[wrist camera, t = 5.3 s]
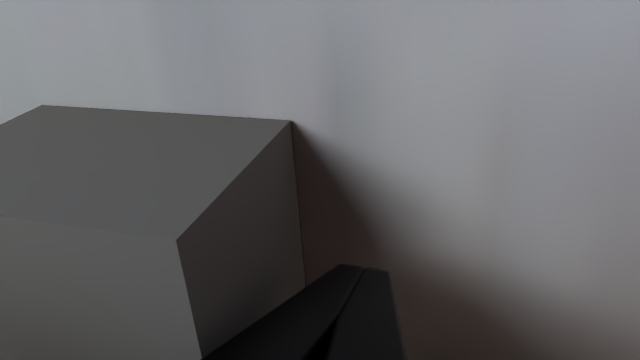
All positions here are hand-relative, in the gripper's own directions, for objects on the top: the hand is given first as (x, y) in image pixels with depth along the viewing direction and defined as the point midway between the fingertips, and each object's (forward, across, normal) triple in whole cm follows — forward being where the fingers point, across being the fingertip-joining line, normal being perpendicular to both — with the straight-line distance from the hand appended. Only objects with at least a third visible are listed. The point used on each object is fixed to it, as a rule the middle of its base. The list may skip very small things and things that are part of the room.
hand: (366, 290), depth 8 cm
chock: (+1, +4, 0) cm, 4 cm away
